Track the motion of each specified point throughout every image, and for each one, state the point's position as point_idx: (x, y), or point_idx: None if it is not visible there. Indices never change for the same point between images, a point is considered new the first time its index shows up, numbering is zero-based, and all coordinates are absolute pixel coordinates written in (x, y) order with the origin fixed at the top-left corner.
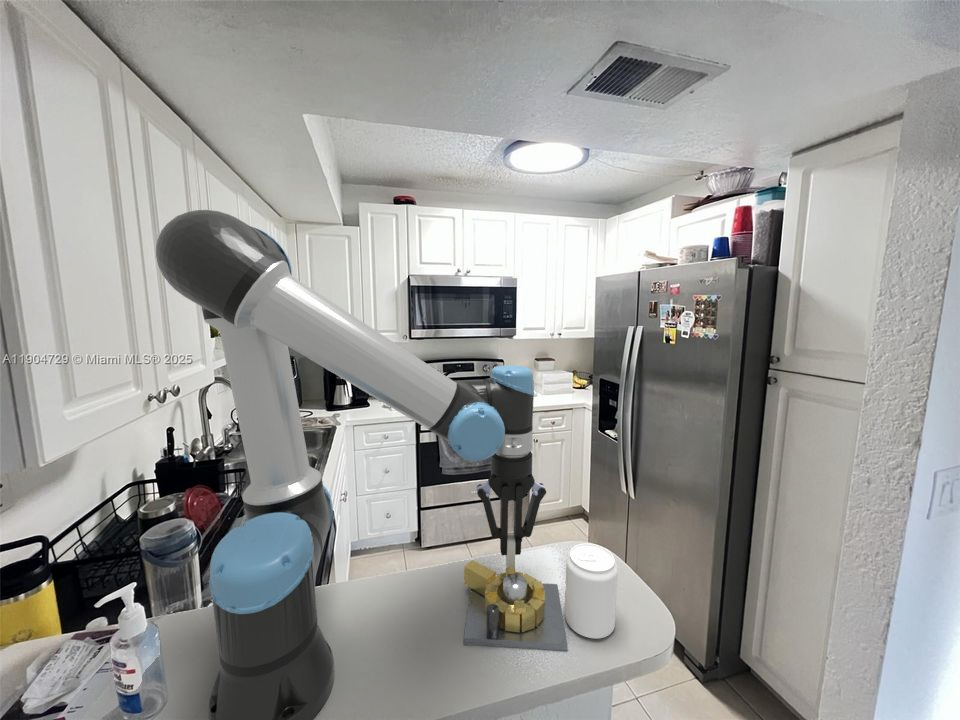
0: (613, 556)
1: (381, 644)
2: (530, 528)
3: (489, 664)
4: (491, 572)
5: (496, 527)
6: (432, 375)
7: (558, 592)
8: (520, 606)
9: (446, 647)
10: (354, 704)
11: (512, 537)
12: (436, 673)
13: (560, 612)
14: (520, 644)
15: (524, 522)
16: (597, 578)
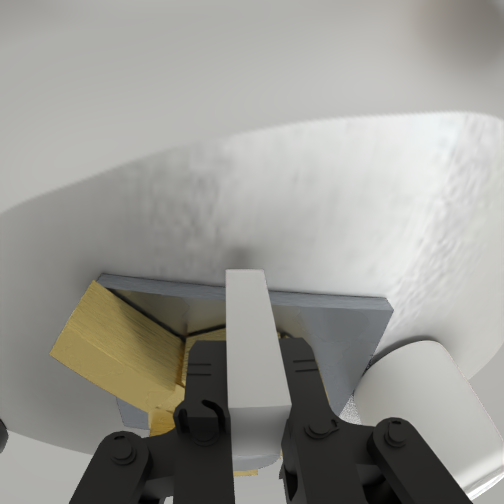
0: (495, 483)
1: (2, 385)
2: (388, 501)
3: None
4: (157, 391)
5: (146, 483)
6: None
7: (379, 339)
8: (245, 474)
9: (97, 412)
10: (30, 435)
11: (270, 432)
12: (100, 435)
13: (351, 388)
14: None
15: (392, 479)
16: None
